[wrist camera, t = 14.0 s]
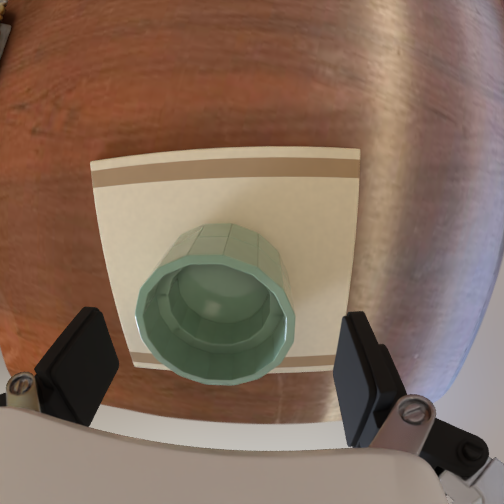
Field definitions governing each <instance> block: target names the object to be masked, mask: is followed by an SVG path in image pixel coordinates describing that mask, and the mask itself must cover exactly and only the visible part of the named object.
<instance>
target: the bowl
mask: <svg viewBox="0 0 504 504" xmlns="http://www.w3.org/2000/svg"><path fill="white" fill-rule="evenodd" d="M135 318H136V322H137V326H138V329H139V333H140V337H141V339H142V341H143V342H144V344H145V345H146V346H147V348H148V349H149V350H150V352H151V353H152V354H153V356H154V357H155V358H156V359H157V360H158V361H159V362H160V363H162V364H163V365H165V366H166V367H167V368H169V369H170V370H172V371H173V372H175V373H176V374H178V375H180V376H182V377H185V378H188V379H191V380H194V381H197V382H200V383H203V384H208V385H237V384H241V383H245V382H248V381H252V380H256V379H259V378H261V377H262V376H264V375H265V374H267V373H268V372H270V371H271V370H273V369H274V368H275V367H277V366H278V365H280V364H281V363H282V361H283V359H284V358H285V356H286V354H287V353H288V351H289V349H290V348H291V346H292V344H293V343H294V336H295V320H296V316H295V310H294V304H293V298H292V293H291V287H290V282H289V276H288V272H287V270H286V267H285V265H284V263H283V260H282V258H281V256H280V254H279V252H278V250H277V249H276V248H275V247H274V246H273V245H271V244H270V243H269V242H268V241H267V240H266V239H265V238H264V237H263V236H262V235H261V234H259V233H257V232H255V231H252V230H249V229H247V228H244V227H241V226H239V225H236V224H232V223H217V224H203V225H201V226H199V227H196V228H194V229H192V230H190V231H188V232H185V233H183V234H182V235H180V236H179V237H178V239H177V240H176V241H175V242H174V243H173V244H172V246H171V247H170V248H169V249H168V250H167V251H166V253H165V254H164V255H163V257H162V258H161V259H160V261H159V262H158V264H157V265H156V266H155V268H154V269H153V271H152V272H151V273H150V275H149V276H148V278H147V279H146V280H145V282H144V283H143V285H142V286H141V288H140V290H139V294H138V299H137V304H136V309H135Z"/></svg>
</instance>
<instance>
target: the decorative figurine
mask: <svg viewBox="0 0 504 504" xmlns="http://www.w3.org/2000/svg"><path fill="white" fill-rule="evenodd" d="M7 4H8V0H0V22H1V20H2V19H3V15H4V13H5V11H6V9H5V7H6V6H7ZM10 30H11V25H7V24H3V23H0V59H1V56H2V53H3V49H4V47H5V43H6V41H7V37H8V35H9V33H10Z"/></svg>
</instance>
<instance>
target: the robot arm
mask: <svg viewBox="0 0 504 504" xmlns="http://www.w3.org/2000/svg"><path fill="white" fill-rule="evenodd" d="M118 368H119V360H118V358H117V355H116V352H115V349H114V347H113V344H112V341H111V338H110V335H109V332H108V329H107V326H106V323H105V320H104V317H103V314H102V312H100V311H99V309H98V308H95V307H84V308H82V310H81V311H80V312H79V313H78V314H77V315H76V317H75V318H74V319H73V320H72V321H71V323H70V324H69V325H68V326H67V328H66V329H65V330H64V331H63V332H62V334H61V335H60V336H59V337H58V339H57V340H56V341H55V342H54V344H53V345H52V346H51V347H50V349H49V350H48V351H47V353H46V354H45V355H44V356H43V358H42V359H41V360H40V362H39V363H38V364H37V366H36V367H35V368H34V370H35V372H36V373H37V374H36V375H35V376H34V375H33V374H32V373H29V372H20V373H18V374H15V375H14V376H13V377H11V378H10V380H9V381H8V383H7V385H6V393H3V394H0V504H449V503H448V500H447V497H446V495H448V496H449V497H450V498H451V499H452V500H453V502H452V504H504V464H503V463H502V462H501V461H500V460H498V459H497V458H496V457H495V458H494V459H491V458H490V457H489V450H488V447H487V444H486V443H485V442H484V441H483V439H481V438H479V437H478V436H476V435H473V434H471V433H469V432H466V431H464V430H462V429H459V428H457V427H455V426H452V425H450V424H448V423H446V422H444V421H441V420H439V419H437V418H435V417H436V409H435V407H434V405H433V403H432V402H431V401H430V400H429V399H427V398H425V397H423V396H421V395H417V394H410V395H407V393H406V390H405V388H404V385H403V383H402V381H401V378H400V376H399V374H398V372H397V369H396V367H395V365H394V362H393V360H392V358H391V356H390V354H389V351H388V349H387V347H386V346H385V345H384V344H378V342H377V340H376V337H375V335H374V333H373V331H372V328H371V326H370V324H369V322H368V320H367V317H366V315H365V313H364V312H363V311H357V312H348V314H347V316H343V317H342V322H341V328H340V334H339V340H338V346H337V351H336V357H335V362H334V367H333V378H334V382H335V387H336V391H337V396H338V401H339V406H340V410H341V415H342V420H343V425H344V430H345V435H346V440H347V445H348V446H349V447H351V446H352V447H353V448H341V449H323V450H302V451H243V450H224V449H211V448H199V447H190V446H182V445H174V444H167V443H160V442H154V441H149V440H143V439H138V438H133V437H128V436H123V435H118V434H114V433H110V432H106V431H102V430H98V429H94V428H90V427H89V426H90V424H91V422H92V420H93V418H94V415H95V414H96V412H97V409H98V408H99V406H100V403H101V401H102V399H103V397H104V395H105V393H106V392H107V390H108V388H109V386H110V384H111V382H112V380H113V378H114V376H115V374H116V372H117V370H118Z"/></svg>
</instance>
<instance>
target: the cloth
mask: <svg viewBox="0 0 504 504" xmlns="http://www.w3.org/2000/svg"><path fill="white" fill-rule="evenodd" d="M90 165H91V175H92V184H93V191H94V199H95V206H96V212H97V219H98V225H99V230H100V236H101V241H102V247H103V252H104V257H105V261H106V266H107V271H108V275H109V279H110V284H111V288H112V292H113V296H114V300H115V303H116V307H117V311H118V315H119V318H120V322H121V325H122V329H123V332H124V335H125V339H126V342H127V345H128V348H129V351H130V355H131V358H132V361H133V363H134V366H135V367H142V368H152V369H163V370H170V369H169V368H167V367H166V366H165V365H163V364H162V363H160V362H159V361H158V360H157V359H156V358H155V357H154V356H153V354H152V353H151V352H150V350H149V349H148V348H147V346H146V345H145V344H144V342H143V341H142V339H141V337H140V333H139V329H138V326H137V322H136V318H135V309H136V304H137V299H138V294H139V290H140V288H141V286H142V285H143V283H144V282H145V280H146V279H147V278H148V276H149V275H150V273H151V272H152V271H153V269H154V268H155V266H156V265H157V264H158V262H159V261H160V259H161V258H162V257H163V255H164V254H165V253H166V251H167V250H168V249H169V248H170V247H171V246H172V244H173V243H174V242H175V241H176V240H177V239H178V237H179V236H180V235H182V234H183V233H185V232H188V231H190V230H192V229H194V228H196V227H199V226H201V225H203V224H217V223H232V224H236V225H239V226H241V227H244V228H247V229H249V230H252V231H255V232H257V233H259V234H261V235H262V236H263V237H264V238H265V239H266V240H267V241H268V242H269V243H270V244H271V245H273V246H274V247H275V248H276V249H277V250H278V252H279V254H280V256H281V258H282V260H283V263H284V265H285V267H286V270H287V272H288V276H289V282H290V287H291V293H292V298H293V304H294V310H295V316H296V320H295V336H294V343H293V344H292V346H291V348H290V349H289V351H288V353H287V354H286V356H285V358H284V359H283V361H282V363H281V364H280V365H278V366H277V367H275V368H274V369H273V370H271V371H270V372H268V373H292V372H313V371H328V370H333V367H334V362H335V357H336V351H337V346H338V340H339V334H340V328H341V322H342V317H343V316H346V311H347V304H348V297H349V290H350V282H351V274H352V266H353V257H354V247H355V236H356V225H357V212H358V196H359V178H360V149H354V148H336V147H306V146H256V147H225V148H207V149H192V150H179V151H168V152H158V153H148V154H139V155H131V156H124V157H116V158H109V159H103V160H96V161H91V162H90Z"/></svg>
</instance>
